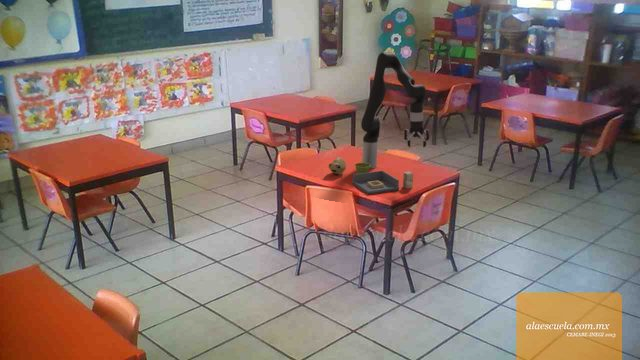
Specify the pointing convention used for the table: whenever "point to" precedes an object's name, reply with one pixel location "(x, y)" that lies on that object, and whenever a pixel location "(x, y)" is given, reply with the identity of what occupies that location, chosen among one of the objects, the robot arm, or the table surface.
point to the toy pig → (337, 166)
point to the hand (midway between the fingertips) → (416, 146)
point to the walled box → (375, 182)
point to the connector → (408, 180)
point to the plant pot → (362, 167)
